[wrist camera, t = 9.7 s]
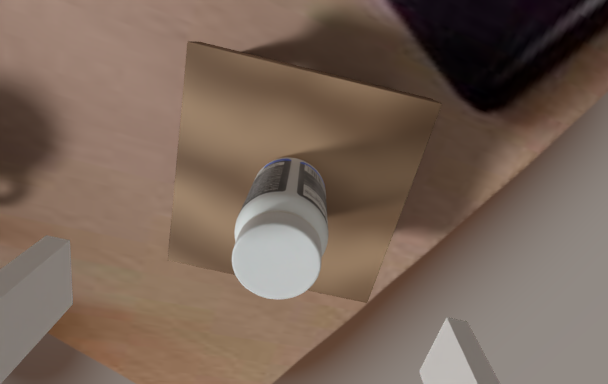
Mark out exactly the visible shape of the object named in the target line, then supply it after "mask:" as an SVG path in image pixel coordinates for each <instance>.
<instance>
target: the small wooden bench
mask: <svg viewBox="0 0 608 384" xmlns="http://www.w3.org/2000/svg"><path fill="white" fill-rule="evenodd" d="M441 106H442V104H441V103H439V102H437V101H435V100H433V99H430V98H426V97H422V96H418V95H414V94H410V93H406V92H402V91H398V90H394V89H390V88H385V87H381V86H377V85H373V84H369V83H365V82H361V81H357V80H353V79H349V78H345V77H341V76H337V75H333V74H329V73H324V72H320V71H316V70H312V69H308V68H304V67H300V66H296V65H292V64H288V63H284V62H280V61H276V60H272V59H268V58H263V57H259V56H255V55H251V54H247V53H243V52H239V51H235V50H231V49H227V48H223V47H219V46H215V45H211V44H206V43H202V42H188V43H187V54H186V65H185V76H184V87H183V98H182V109H181V119H180V130H179V141H178V152H177V163H176V174H175V185H174V196H173V207H172V217H171V228H170V239H169V250H168V261H173V262H178V263H182V264H187V265H192V266H196V267H201V268H206V269H210V270H215V271H220V272H224V273H229V274H234V275H235V273H234V270H233V266H232V252H233V248H234V245H235V235H234V231H235V224H236V220H237V217H238V215H239V213H240V211H241V209H242V206H243V204H244V202H245V200H246V197H247V195H248V193H249V191H250V189H251V187H252V184H253V182H254V180H255V178H256V176H257V174H258V173H259V171H260V170H261V169H262V168H263V167H264V166H265V165H266V164H268V163H269V162H271V161H273V160H276V159H279V158H285V157H289V158H297V159H300V160H303V161H305V162H307V163H309V164H310V165H312V166H313V167H314V168H315V169H316V170H317V171H318V172H319V174H320V175H321V177H322V179H323V181H324V184H325V190H326V203H327V219H328V243H327V247H326V250H325V252H324V254H323V256H322V257H321V269H320V273H319V275H318V278H317V279H316V281H315V282H314V284H313V285H312V286H311V287H310V288H309V289H308V290H309V291H313V292H318V293H323V294H327V295H332V296H337V297H341V298H346V299H351V300H355V301H360V302H365V303H367V302H368V299H369V297H370V294H371V291H372V289H373V286H374V283H375V281H376V278H377V275H378V273H379V270H380V267H381V265H382V262H383V260H384V257H385V254H386V252H387V249H388V246H389V244H390V241H391V238H392V236H393V233H394V230H395V228H396V225H397V222H398V220H399V217H400V215H401V212H402V209H403V207H404V204H405V201H406V199H407V196H408V193H409V191H410V188H411V185H412V183H413V180H414V177H415V175H416V172H417V170H418V167H419V164H420V162H421V159H422V156H423V154H424V151H425V148H426V146H427V143H428V140H429V138H430V135H431V132H432V130H433V127H434V125H435V122H436V119H437V117H438V114H439V111H440V109H441Z"/></svg>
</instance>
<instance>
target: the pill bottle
mask: <svg viewBox="0 0 608 384" xmlns="http://www.w3.org/2000/svg"><path fill="white" fill-rule="evenodd" d="M234 235H235V245H234V248H233V252H232V266H233V270H234V273H235V275H236V277H237V278H238V280H239V281H240V283H241V284H242V285H243V286H244V287H245V288H247V289H248V290H250V291H251V292H253V293H255V294H256V295H259V296H261V297H265V298H268V299H287V298H292V297H295V296H298V295H300V294H302V293H304V292H305V291H307V290H308V289H309V288H310V287H311V286H312V285H313V284H314V282H315V281H316V279H317V278H318V275H319V273H320V269H321V257H322V256H323V254H324V252H325V250H326V247H327V243H328V219H327V203H326V190H325V184H324V181H323V179H322V177H321V175H320V174H319V172H318V171H317V170H316V169H315V168H314V167H313V166H312V165H310V164H309V163H307V162H305V161H303V160H300V159H297V158H289V157H285V158H279V159H276V160H273V161H271V162H269V163H268V164H266V165H265V166H264V167H263V168H262V169H261V170H260V171H259V173H258V174H257V176H256V178H255V180H254V182H253V184H252V187H251V189H250V191H249V193H248V195H247V197H246V200H245V202H244V204H243V206H242V209H241V211H240V213H239V215H238V217H237V220H236V224H235V231H234Z"/></svg>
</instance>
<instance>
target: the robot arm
mask: <svg viewBox="0 0 608 384" xmlns="http://www.w3.org/2000/svg"><path fill="white" fill-rule="evenodd" d="M72 304H73V296H72V275H71V253H70V240H66V239H61V238H56V237H52V236H47V235H46V236H45V237H43V238H42V239H41V240H39V241H38V242H37V243H35V244H34V245H33V246H31V247H30V248H29V249H27V250H26V251H25V252H23V253H22V254H21V255H19V256H18V257H16V258H15V259H14V260H12V261H11V262H10V263H8V264H7V265H6V266H4V267H3V268H2V269H0V384H1V383H2V382H3V380H5V378H6V377H7V376H8V375H9V374H10V373H11V372H12V371H13V370H14V368H15V367H16V366H17V365H18V364H19V363H20V362H21V361H22V360H23V358H24V357H25V356H26V355H27V354H28V353H29V352H30V351H31V350H32V349H33V348H34V346H35V345H36V344H37V343H38V342H39V341H40V340H41V339H42V337H43V336H44V335H45V334H46V333H47V332H48V331H49V330H50V329H51V328H52V327H53V325H54V324H55V323H56V322H57V321H58V320H59V319H60V318H61V317H62V315H63V314H64V313H65V312H66V311H67V310H68V309H69V308H70V307H71V305H72ZM420 375H421V378H422V381H423V384H500V382H499V380H498V379H497V377H496V375H495V373H494V371H493V369H492V367H491V366H490V364H489V362H488V360H487V358H486V356H485V354H484V352H483V350H482V348H481V347H480V345H479V343H478V341H477V339H476V337H475V335H474V333H473V331H472V330H471V328H470V326H469V324H468V322H467V321H462V320H457V319H453V318H448V317H447V318H446V320H445V322H444V324H443V326H442V328H441V330H440V332H439V334H438V335H437V337H436V340H435V341H434V343H433V345H432V347H431V349H430V351H429V353H428V355H427V357H426V359H425V361H424V363H423V365H422V367H421V369H420Z"/></svg>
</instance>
